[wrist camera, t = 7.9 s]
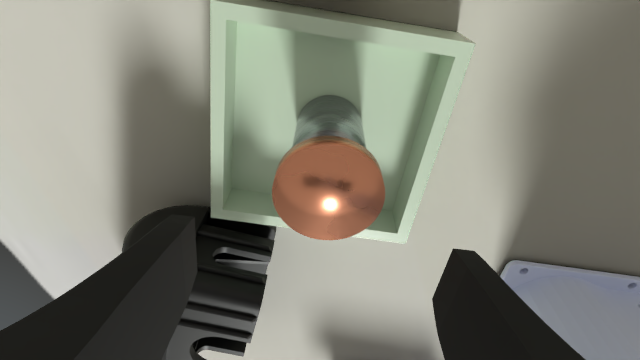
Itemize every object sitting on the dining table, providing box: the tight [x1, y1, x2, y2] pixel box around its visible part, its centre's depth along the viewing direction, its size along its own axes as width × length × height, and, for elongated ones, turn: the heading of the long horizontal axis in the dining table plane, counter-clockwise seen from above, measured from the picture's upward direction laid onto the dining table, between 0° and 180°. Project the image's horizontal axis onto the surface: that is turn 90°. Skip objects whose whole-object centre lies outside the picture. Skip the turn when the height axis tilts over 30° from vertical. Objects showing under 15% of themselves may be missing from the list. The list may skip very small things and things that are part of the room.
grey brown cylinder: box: [272, 95, 385, 240], centre depth 16 cm, size 4×4×6 cm
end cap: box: [122, 205, 276, 360], centre depth 22 cm, size 10×7×7 cm
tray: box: [210, 0, 475, 244], centre depth 18 cm, size 10×10×2 cm
